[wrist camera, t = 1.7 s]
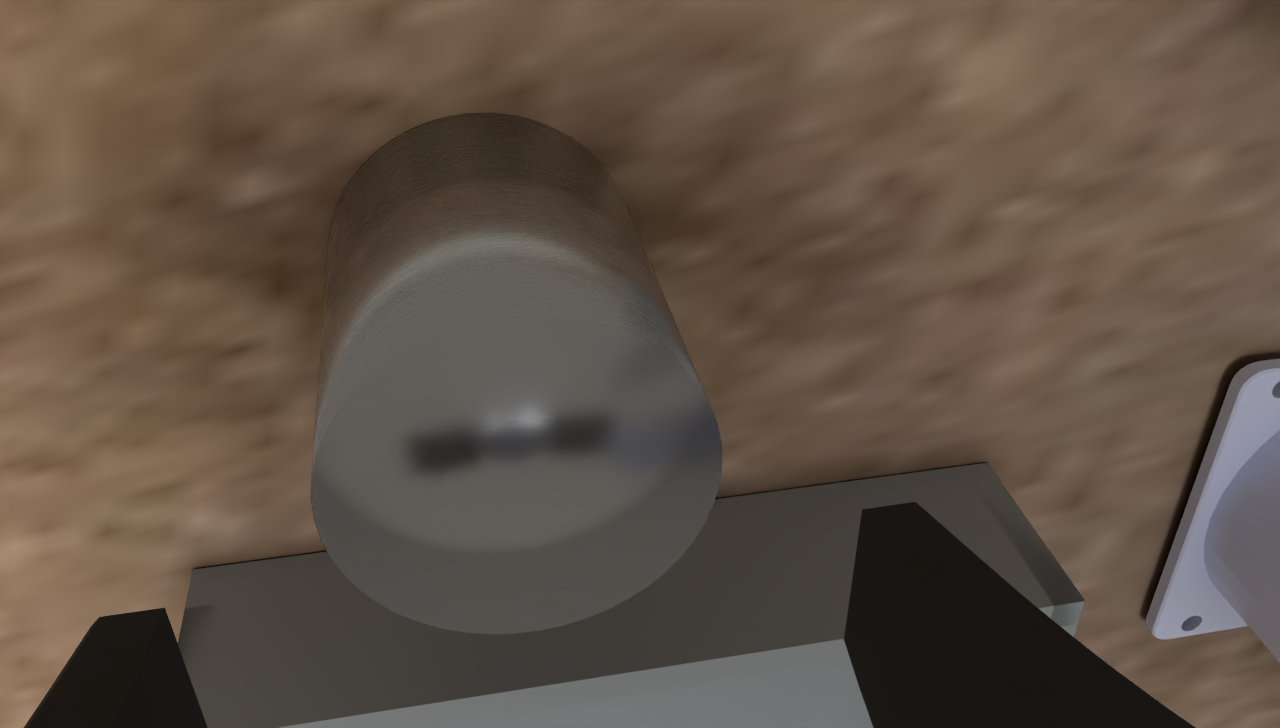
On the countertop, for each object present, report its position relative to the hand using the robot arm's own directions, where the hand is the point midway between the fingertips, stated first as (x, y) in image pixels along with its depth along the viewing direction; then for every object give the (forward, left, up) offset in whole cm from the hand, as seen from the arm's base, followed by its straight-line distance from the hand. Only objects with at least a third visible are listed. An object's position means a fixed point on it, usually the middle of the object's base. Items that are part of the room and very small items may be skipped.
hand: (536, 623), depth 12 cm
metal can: (0, 0, -8) cm, 8 cm away
